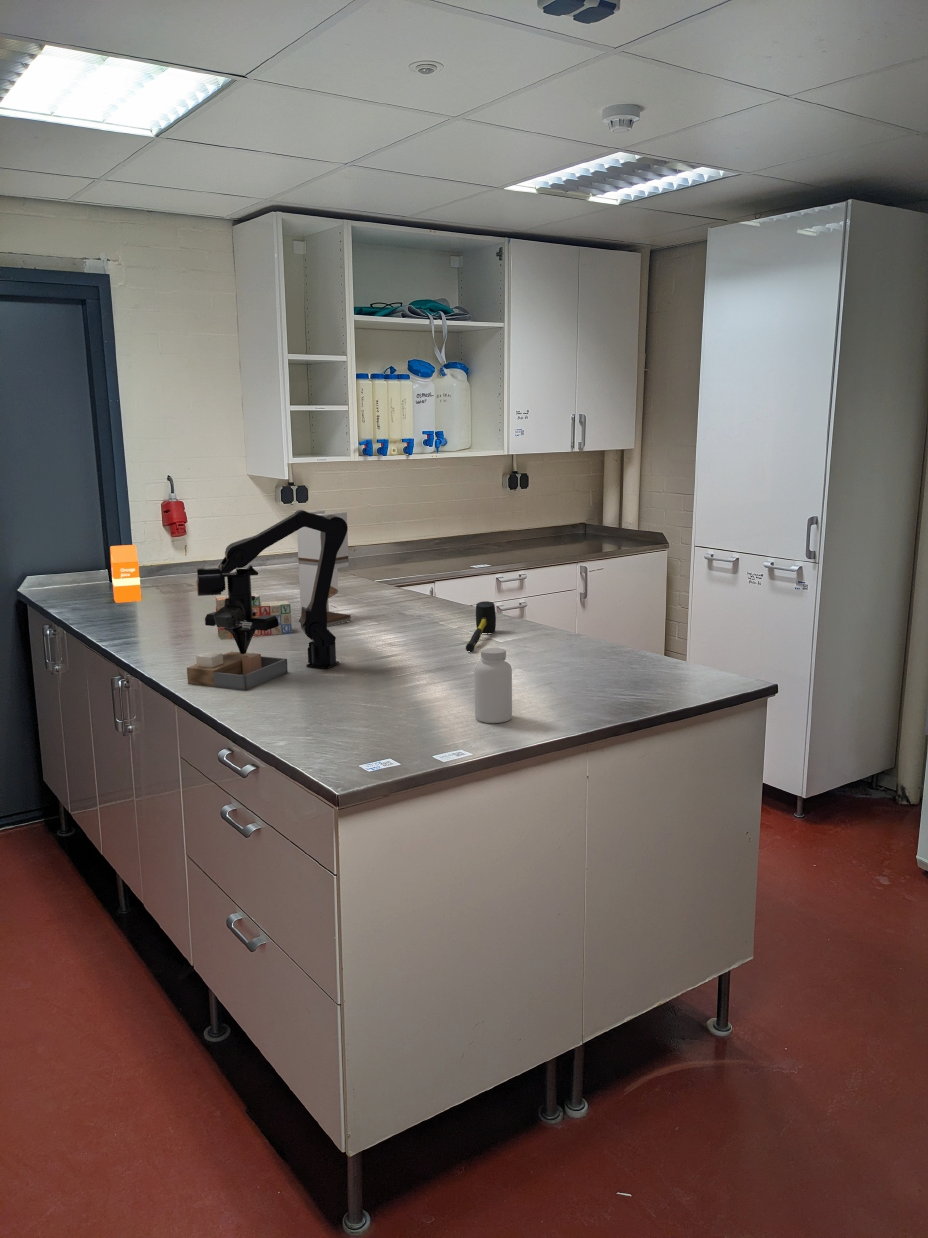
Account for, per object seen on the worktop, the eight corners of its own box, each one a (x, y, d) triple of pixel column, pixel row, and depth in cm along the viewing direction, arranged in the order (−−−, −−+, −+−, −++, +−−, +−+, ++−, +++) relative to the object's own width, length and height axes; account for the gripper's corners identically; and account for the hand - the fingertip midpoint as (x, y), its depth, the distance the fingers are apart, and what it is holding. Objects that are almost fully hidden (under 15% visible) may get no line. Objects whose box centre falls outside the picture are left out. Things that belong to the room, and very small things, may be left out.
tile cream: (223, 663, 235) (222, 653, 234) (211, 667, 231) (211, 657, 230) (208, 661, 236) (207, 652, 236) (196, 665, 232) (196, 656, 232)
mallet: (480, 654, 259) (480, 620, 257) (459, 653, 260) (458, 619, 258) (497, 631, 287) (497, 600, 285) (478, 631, 288) (477, 600, 286)
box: (287, 672, 241) (286, 658, 241) (245, 690, 225) (244, 676, 224) (258, 668, 245) (257, 655, 244) (214, 686, 228) (213, 672, 228)
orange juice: (113, 599, 345) (109, 545, 341) (139, 597, 349) (134, 543, 345) (115, 602, 338) (111, 547, 334) (141, 600, 342) (137, 545, 338)
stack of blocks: (288, 629, 292) (286, 590, 289) (292, 633, 286) (290, 593, 283) (217, 635, 285) (215, 595, 282) (219, 640, 279) (217, 599, 276)
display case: (325, 627, 294) (320, 514, 287) (301, 623, 300) (296, 513, 293) (350, 621, 303) (346, 511, 296) (327, 617, 309) (322, 510, 302)
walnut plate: (258, 668, 245) (257, 653, 244) (214, 686, 228) (213, 670, 228) (232, 666, 248) (231, 651, 247) (187, 683, 232) (186, 667, 231)
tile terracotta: (253, 670, 242) (261, 671, 241) (242, 674, 238) (251, 675, 237) (252, 653, 241) (260, 653, 240) (241, 657, 237) (250, 657, 236)
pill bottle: (510, 712, 206) (510, 645, 203) (513, 724, 198) (513, 654, 195) (474, 713, 206) (473, 646, 203) (475, 724, 198) (475, 655, 195)
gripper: (188, 596, 233) (193, 657, 236) (251, 601, 226) (255, 664, 229) (216, 589, 243) (220, 648, 246) (278, 593, 236) (281, 654, 239)
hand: (243, 653), depth 240 cm, fingers closed
